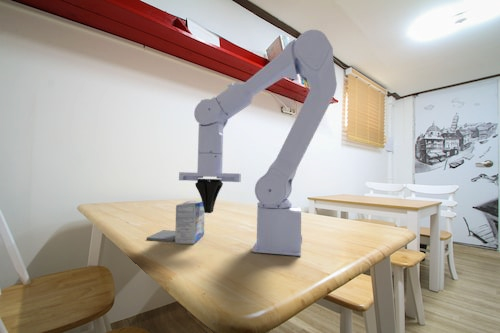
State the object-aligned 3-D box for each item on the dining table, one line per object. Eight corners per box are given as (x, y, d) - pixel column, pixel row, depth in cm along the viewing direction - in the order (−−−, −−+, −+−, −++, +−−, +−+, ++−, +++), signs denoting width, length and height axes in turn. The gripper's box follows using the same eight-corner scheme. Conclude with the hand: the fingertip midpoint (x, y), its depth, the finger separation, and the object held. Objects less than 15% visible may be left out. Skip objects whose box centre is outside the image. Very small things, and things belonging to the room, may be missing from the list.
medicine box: (194, 245, 49) (195, 204, 49) (174, 244, 49) (175, 204, 49) (204, 235, 57) (205, 200, 57) (187, 234, 57) (188, 200, 57)
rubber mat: (186, 233, 57) (186, 231, 57) (172, 241, 50) (172, 239, 51) (163, 231, 58) (163, 230, 59) (146, 239, 52) (146, 237, 52)
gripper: (243, 155, 56) (242, 211, 55) (188, 155, 58) (187, 208, 58) (237, 153, 49) (236, 216, 48) (175, 152, 51) (173, 212, 51)
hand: (208, 212), depth 52 cm, fingers closed
